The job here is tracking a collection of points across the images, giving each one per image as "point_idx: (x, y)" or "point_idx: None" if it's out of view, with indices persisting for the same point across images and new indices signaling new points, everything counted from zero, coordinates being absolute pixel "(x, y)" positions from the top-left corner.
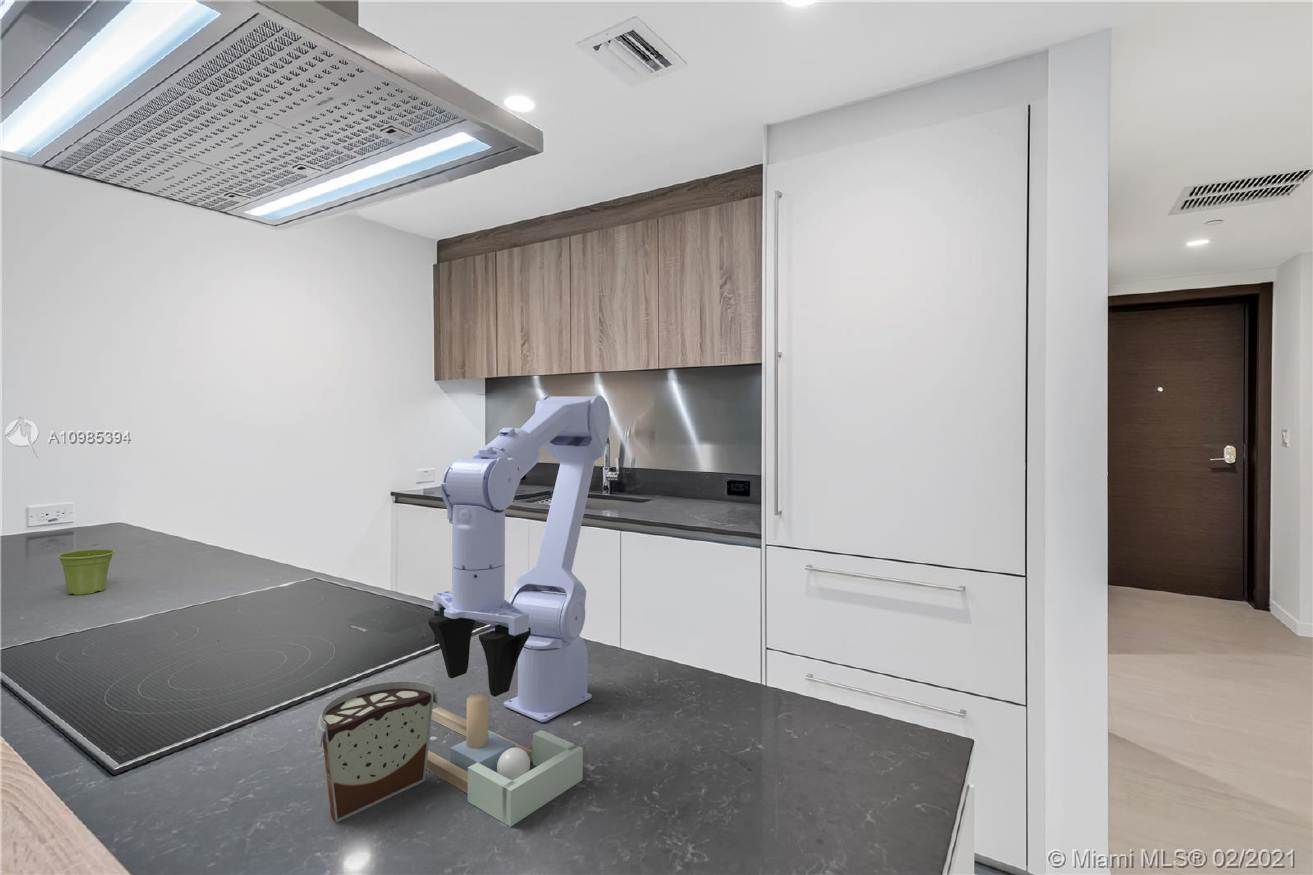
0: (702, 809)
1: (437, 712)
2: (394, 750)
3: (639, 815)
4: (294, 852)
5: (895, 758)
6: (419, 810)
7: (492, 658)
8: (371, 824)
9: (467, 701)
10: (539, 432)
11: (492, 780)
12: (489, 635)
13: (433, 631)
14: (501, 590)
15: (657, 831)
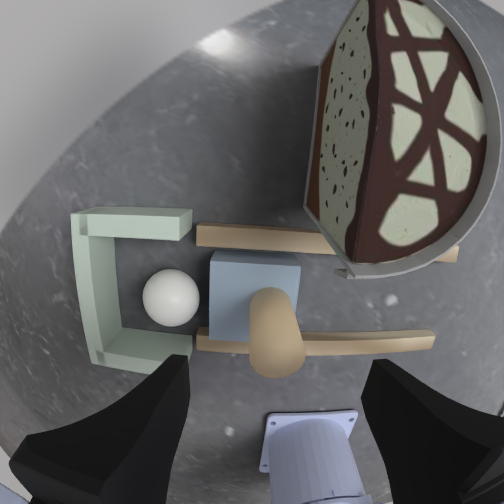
0: (11, 345)
1: (423, 338)
2: (332, 147)
3: (28, 310)
4: (300, 12)
5: (10, 440)
6: (238, 148)
7: (99, 420)
8: (270, 88)
9: (287, 333)
10: None
11: (111, 215)
12: (60, 495)
13: (498, 417)
14: None
15: (7, 297)
